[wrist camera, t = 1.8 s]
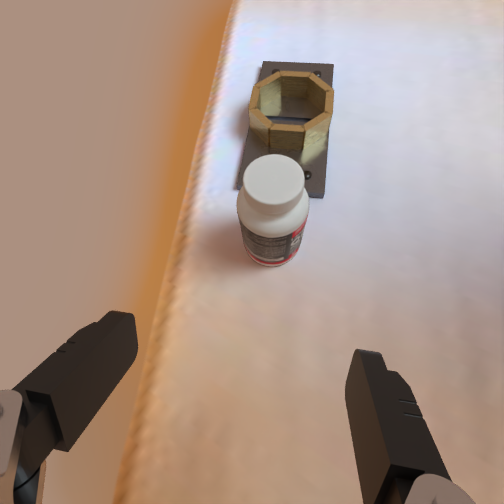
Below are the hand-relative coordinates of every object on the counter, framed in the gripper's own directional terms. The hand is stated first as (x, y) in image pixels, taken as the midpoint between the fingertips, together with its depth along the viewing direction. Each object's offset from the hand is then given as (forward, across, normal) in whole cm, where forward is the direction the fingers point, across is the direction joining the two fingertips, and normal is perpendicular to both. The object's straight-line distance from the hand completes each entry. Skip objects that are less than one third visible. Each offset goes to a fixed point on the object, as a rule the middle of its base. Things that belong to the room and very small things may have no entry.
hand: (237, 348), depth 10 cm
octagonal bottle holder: (+28, 0, -8) cm, 29 cm away
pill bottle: (+18, 0, +2) cm, 18 cm away
